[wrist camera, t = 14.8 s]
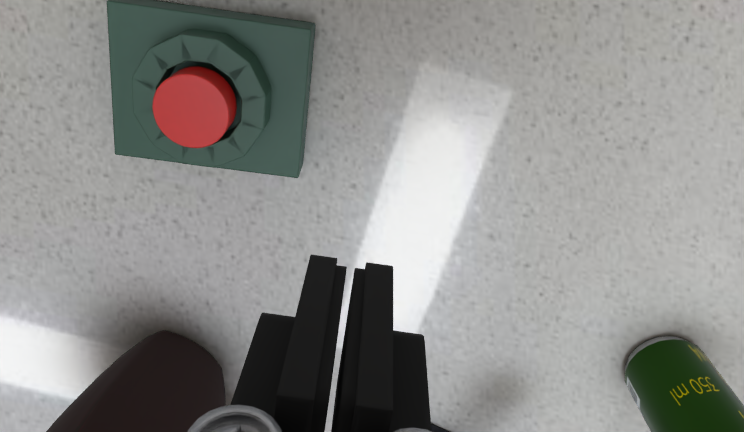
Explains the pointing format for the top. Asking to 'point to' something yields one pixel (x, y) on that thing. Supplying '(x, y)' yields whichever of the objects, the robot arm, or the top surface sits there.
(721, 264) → the top surface
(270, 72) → the control box
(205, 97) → the stop button
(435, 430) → the switch bracket
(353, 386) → the robot arm
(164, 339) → the cup
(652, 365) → the beer can
